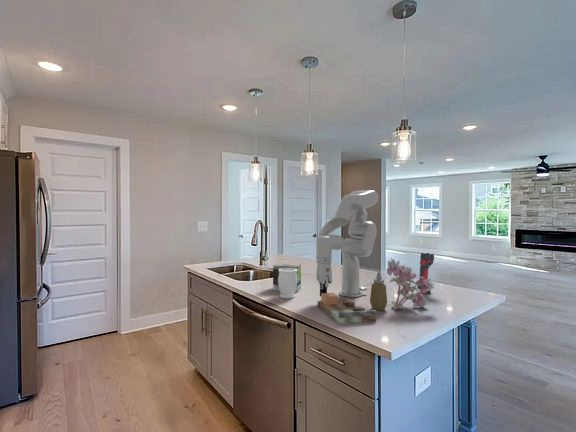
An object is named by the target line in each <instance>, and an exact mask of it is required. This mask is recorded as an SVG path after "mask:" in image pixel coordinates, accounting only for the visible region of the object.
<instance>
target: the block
mask: <svg viewBox="0 0 576 432" xmlns="http://www.w3.org/2000/svg"><path fill="white" fill-rule="evenodd" d="M320 298H321V299H320V301H321V302H323V303H324V304H325V305H332V304H338V300H339V299H338V298H339V295H337V294H336V293H334V292H327V293H321V296H320Z"/></svg>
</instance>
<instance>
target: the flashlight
mask: <svg viewBox="0 0 576 432" xmlns="http://www.w3.org/2000/svg"><path fill="white" fill-rule="evenodd" d="M419 258H420V260H419V265H420V266H419V277H424V278H425V280H427V279H429V269H430V267H431V266H432V265H433V264H434V261H435V255H434V253H429V252H425V253H424V252H421V253H420V257H419ZM419 280H420V281H422V280H421V279H420V278H419ZM417 288H418V289H421V288H422V287H420V286H417ZM431 291H432V290H431ZM431 291H427V292H426V293H425V294H430V293H429V292H431Z"/></svg>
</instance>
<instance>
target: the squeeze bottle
mask: <svg viewBox="0 0 576 432" xmlns="http://www.w3.org/2000/svg"><path fill="white" fill-rule="evenodd" d="M370 289H371V290H370V295H369V296H370V297H369V303H370V306H371V310H376V311H377V312H378V311H385V310H386V307H387V304H388V295H387V286H386V284H385V279H383V278H382V274H381V271H377V273H376V277H375V278H373V283H372V284H371V288H370Z"/></svg>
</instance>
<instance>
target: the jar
mask: <svg viewBox="0 0 576 432" xmlns="http://www.w3.org/2000/svg"><path fill="white" fill-rule="evenodd" d="M278 271H279V276H278V284H279V290H280V291H279V290H278V291H279V293H280V294H279V297H280V298H282V299H294V298H295V297H296V294H295V293H296V292H295V291H296V286H297V274H296V272H297V269H295V268H280V269H278Z"/></svg>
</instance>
